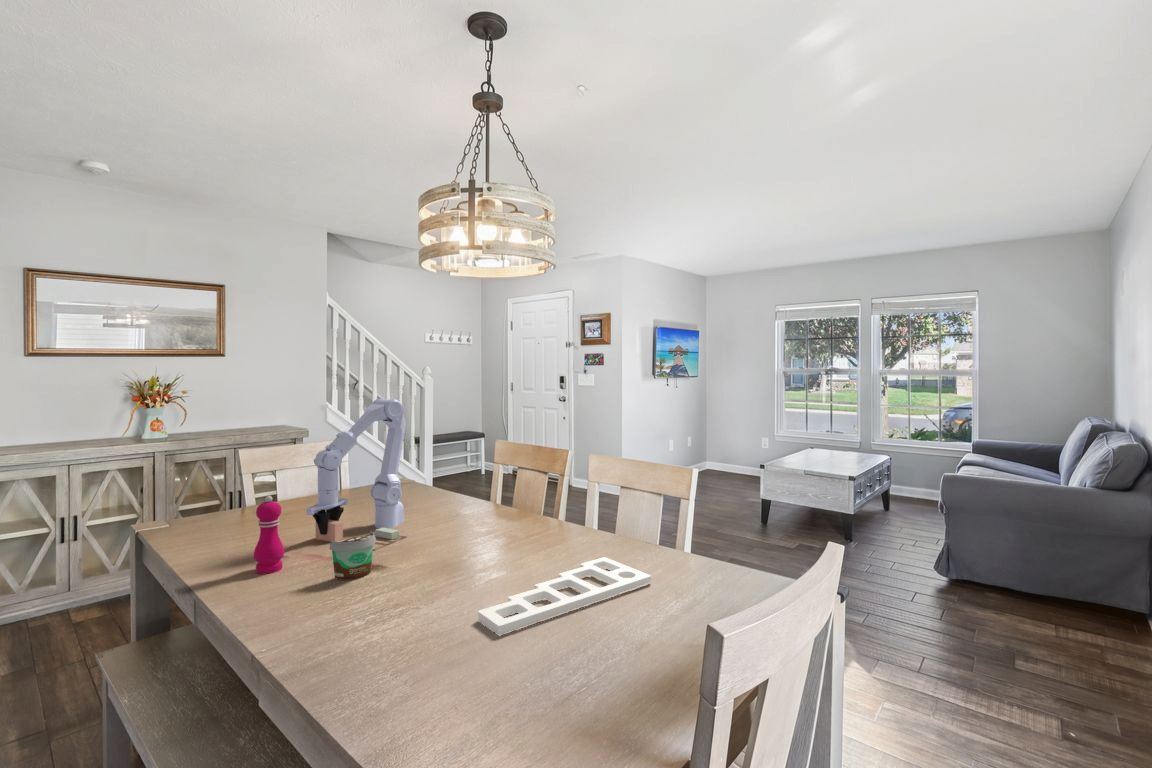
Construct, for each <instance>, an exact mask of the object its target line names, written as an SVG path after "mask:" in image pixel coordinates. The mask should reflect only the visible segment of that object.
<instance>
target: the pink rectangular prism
mask: <svg viewBox="0 0 1152 768" xmlns="http://www.w3.org/2000/svg"><path fill="white" fill-rule="evenodd" d="M343 539H344V521H340V520H339V521H335V520H328V531H327V534H326V535H322V534H320V531H319V527H318V525H317V522H316V521H315V540H319V541H326V542H331V541H334V542H341V541H344V540H343Z"/></svg>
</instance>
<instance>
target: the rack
mask: <svg viewBox="0 0 1152 768" xmlns="http://www.w3.org/2000/svg"><path fill="white" fill-rule="evenodd" d="M373 533H374V535H375V532H373ZM399 537H401V538H399V539H396V540H389V539H387V540H386V539H383V538H376V543H375V545H381V546H379V547H376V548H373V552H375V551H378V550H380V549H383V548H384V547H387V546H389V545H392V544H395V543H397V542H399V541H401V540H404V539H406V538H407V536H404V535H400V534H399ZM377 541H380V542H377ZM383 542H385V543H383ZM386 542H387V543H386Z"/></svg>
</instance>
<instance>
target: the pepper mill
mask: <svg viewBox="0 0 1152 768" xmlns="http://www.w3.org/2000/svg"><path fill="white" fill-rule="evenodd" d="M264 500H265V501H264V502H262V503H260V504H258V506H257V508H256V510H255V515H256V517H257V519H259V520H258V524H257V525H258V527H259V530H260V531H259V537H258V541H257V544H256V546H255V548H254V551H253V559H254V560H255V561H256V562H257V563H256V564H255V572H256V573H257V574H262V575H263V574H272V573H276V571H277V572H279V571H280V570H282V569H283V561H282V560H281V559H282V558H283V557H284V555H285V547H284V544H283V542H282V540H281V538H280V535H279V531H278V530H279V529H278V528H279V525H280V518H279V517H280V515H281V514H282V507H281V506H282V505H280V504H279V503H278V502H276V501H273V496H271V495H267V496H266V497H265V498H264Z"/></svg>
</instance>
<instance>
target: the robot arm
mask: <svg viewBox="0 0 1152 768" xmlns="http://www.w3.org/2000/svg"><path fill="white" fill-rule="evenodd" d="M404 413H405V406H404V405H403V403H401V401H400V400H398V399H395V398H394V399H388V398H381V397H380V398H376V399H375V400H374V401H373V402H372V403H370V404H369V405H368V407H367V409H366V410H365V412H364V413H363V414H362V415H361V416H360V417H359V418H358V419H357V421H356V422H354V424H353V425H352V426H351V427H350V428H349V430H348V431H345V430H344V431H342V432H338V433H337V434H336V435H335V436H336V437H335V439H334V440H332V442H330V444H327V445H326V446H325V449H323V450H320V451H318V452H317V454H316V455H315V457H314V459H313V463H314V466H316V468H317V502H316V503H315V504H314V505H311V506H310V507H307V508H306V509H305V510H306V515H307V516H312V517H313V519H314V520H315V523H316V522H317V525H318V527H319V531H320V534H322V535H326V534H327V531H328V520H335V521H340V518H341V516H342V514H343V512H344V511H345V509H344V507H342V506H347V505H349V497H343V498H339V467H341V465H342V462H343V459H344V457H345V456H346V455H347V454H348V453H349V452H350V451H351V450H352V449H353V448H354V447H355V446H356V445H357V443H358V442H357V441H358V440H357V438H358V437H360V435H362V434H363V433H364V432H365V431H366V430H367V429H368V428H369V427H370V426H372V425H373V424H374V423H375V422H378V421H383V422H384V423H385V425H386V426H387V428H388V429H387V433H386V435H387V436H386V441H385V446H384V450H383V451H384V452H383V457H382V462H381V463H382V464H381V469H380V473H379V475H378V476H376V477H375V479H374V483H373V485H372V486H371V488H370V497H371V498H372V499H373V500H374V501H373V502H374V528H376V529H379V528H382V527H383V528H389V529H393V528H395V527H396V526H399V525H401V524H403V523H405V508H404V505H403V503H402V502H401V501H400V499H401V498H402V494H403V493H402V487H401V485H402V482H401V480H400V478H399V476H398V473H399V467H400V462H401V461H400V460H401V455H402V449H403V444H404V439H405V438H404V437H405V433H406V427H407V421H406V418H405V414H404Z"/></svg>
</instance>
